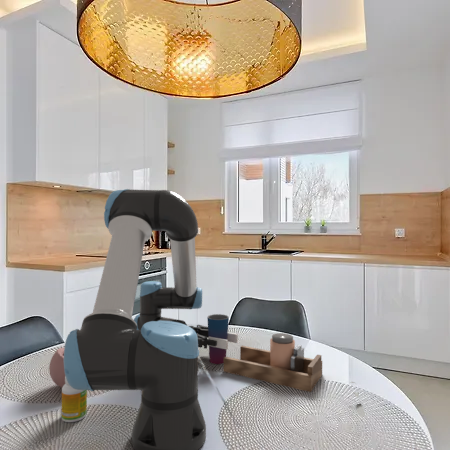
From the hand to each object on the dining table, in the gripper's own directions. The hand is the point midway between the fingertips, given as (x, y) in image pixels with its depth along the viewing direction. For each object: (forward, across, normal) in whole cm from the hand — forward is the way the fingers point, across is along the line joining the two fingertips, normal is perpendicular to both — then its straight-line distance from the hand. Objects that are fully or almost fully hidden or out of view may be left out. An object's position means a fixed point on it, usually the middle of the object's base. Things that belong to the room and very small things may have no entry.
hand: (232, 341), depth 111 cm
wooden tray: (+13, 0, -8) cm, 16 cm away
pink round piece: (-31, +33, -8) cm, 46 cm away
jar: (+16, 0, -7) cm, 18 cm away
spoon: (+38, +4, -9) cm, 39 cm away
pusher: (+21, 0, -7) cm, 22 cm away
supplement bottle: (-18, +43, -8) cm, 48 cm away
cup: (-5, 0, -8) cm, 10 cm away
